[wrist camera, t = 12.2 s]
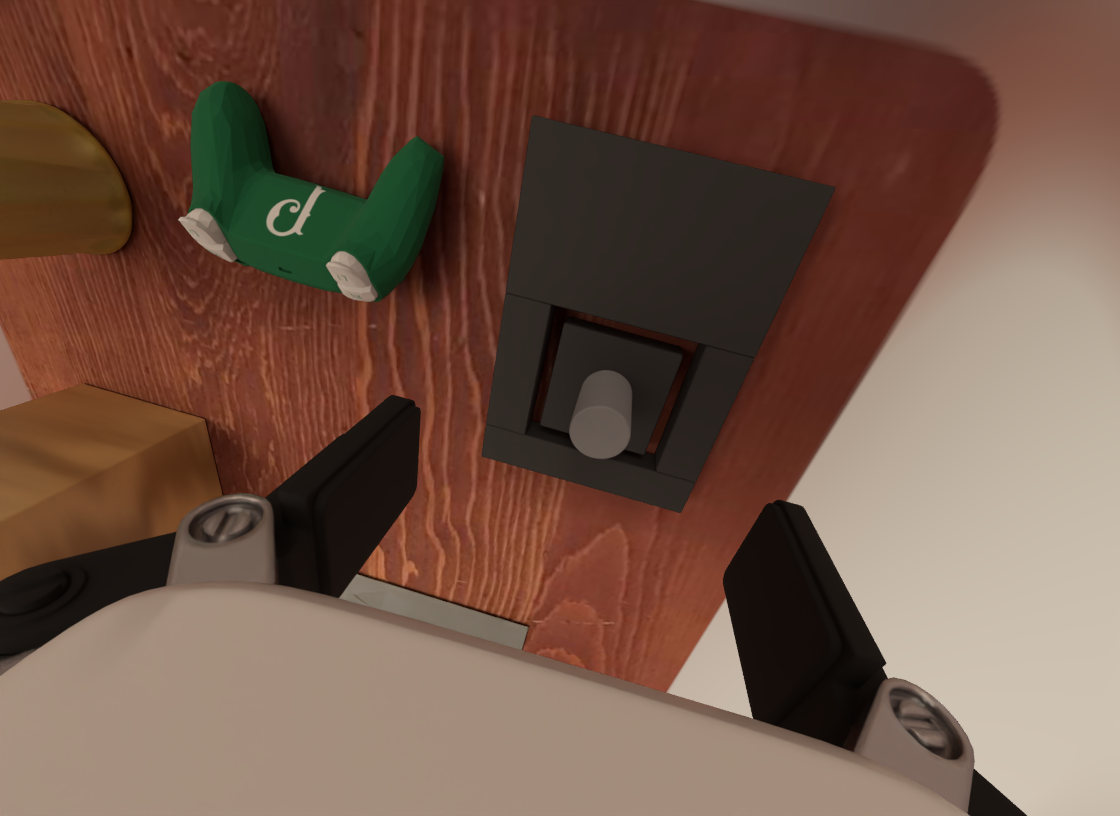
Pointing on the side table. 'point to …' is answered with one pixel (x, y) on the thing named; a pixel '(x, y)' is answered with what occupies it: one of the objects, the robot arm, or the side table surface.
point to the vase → (57, 186)
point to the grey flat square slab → (433, 611)
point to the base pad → (643, 289)
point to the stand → (96, 474)
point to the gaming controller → (303, 206)
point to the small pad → (615, 354)
